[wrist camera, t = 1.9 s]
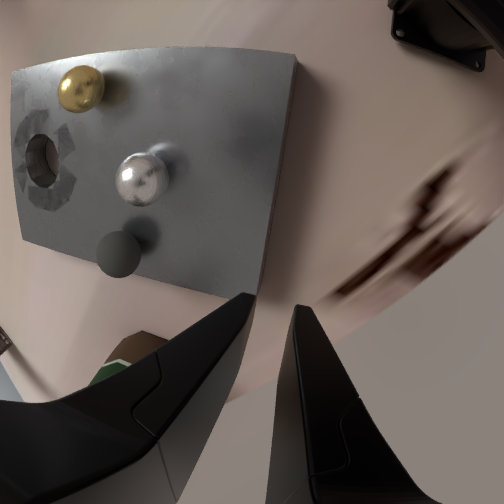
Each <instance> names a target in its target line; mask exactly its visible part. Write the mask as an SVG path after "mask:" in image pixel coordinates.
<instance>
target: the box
mask: <svg viewBox="0 0 504 504" xmlns="http://www.w3.org/2000/svg"><path fill="white" fill-rule="evenodd" d="M11 345H12V342H11V341H10V339H9V338H8V337H7V335H6V334H5V333H4V331H3V330H2V329H1V328H0V355H1V354H3V353H4V352H5V351H6V350H7V349H8V348H9V347H10V346H11Z"/></svg>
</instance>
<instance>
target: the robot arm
mask: <svg viewBox="0 0 504 504" xmlns="http://www.w3.org/2000/svg"><path fill="white" fill-rule="evenodd" d="M388 7H389V8H390V10H393V17H392V26H391V35H392V37H393V38H394V39H395V40H396V41H399V42H402V43H405V44H408V45H411V46H414V47H417V48H420V49H422V50H425V51H428V52H431V53H433V54H436V55H438V56H441V57H443V58H446V59H448V60H450V61H453V62H455V63H457V64H460V65H462V66H464V67H466V68H468V69H471V70H473V71H475V72H482V71H483V70H484V68H485V57H486V50H490V49H496V50H497V52H498V53H499V54H500V55H501V56H502V57H503V59H504V0H388ZM396 31H401V32H402V34H403V36H402V37H400V36H398V35H397V34H396ZM475 62H477V63H478V64H479V67H478V68H477V67H476V65H475ZM256 300H257V297H256V295H254V294H250V293H245V292H241V293H240V294H238V295H237V296H235V297H234V298H232V299H231V300H229V301H228V302H226V303H225V304H223V305H222V306H220V307H219V308H217V309H216V310H214V311H213V312H211V313H210V314H208V315H207V316H205V317H204V318H202V319H201V320H199V321H198V322H196V323H195V324H193V325H192V326H190V327H189V328H187V329H186V330H184V331H183V332H181V333H180V334H178V335H177V336H175V337H174V338H172V339H171V340H169V341H168V342H166V343H165V344H163V345H162V346H160V347H158V348H157V349H156V351H152V352H151V353H149V354H147V355H146V356H144V357H143V358H141V359H139V360H138V361H136V362H134V363H133V364H131V365H129V366H128V367H126V368H124V369H122V370H120V371H118V372H116V373H114V374H112V375H110V376H109V377H107V378H104V379H102V380H100V381H98V382H96V383H94V384H92V385H89V386H87V387H85V388H83V389H81V390H79V391H76V392H74V393H72V394H70V395H68V396H65V397H63V398H60V399H57V400H54V401H50V402H45V403H26V402H15V401H6V400H0V504H176V503H177V502H178V500H179V498H180V496H181V494H182V492H183V490H184V488H185V486H186V484H187V482H188V479H189V478H190V476H191V474H192V471H193V470H194V467H195V465H196V463H197V461H198V459H199V457H200V455H201V453H202V451H203V449H204V447H205V444H206V442H207V439H208V438H209V436H210V434H211V432H212V429H213V427H214V425H215V423H216V421H217V419H218V417H219V414H220V412H221V410H222V408H223V406H224V403H225V401H226V399H227V397H228V395H229V392H230V390H231V388H232V386H233V384H234V381H235V379H236V377H237V374H238V372H239V369H240V365H241V362H242V359H243V355H244V351H245V348H246V344H247V341H248V337H249V334H250V330H251V326H252V322H253V317H254V312H255V306H256ZM265 504H442V503H439V502H437V501H435V500H433V499H431V498H430V497H429V496H427V495H426V494H425V493H424V492H423V491H422V490H421V489H420V488H419V487H418V486H417V485H416V484H415V482H414V481H413V480H412V478H411V477H410V475H409V474H408V472H407V471H406V469H405V468H404V467H403V465H402V464H401V462H400V461H399V459H398V458H397V457H396V455H395V454H394V452H393V451H392V449H391V448H390V446H389V445H388V443H387V442H386V441H385V439H384V437H383V436H382V434H381V433H380V432H379V430H378V428H377V427H376V425H375V423H374V422H373V420H372V418H371V416H370V414H369V413H368V411H367V409H366V407H365V405H364V404H363V402H362V400H361V398H359V394H358V393H357V391H356V389H355V387H354V385H353V383H352V381H351V380H350V378H349V376H348V374H347V372H346V370H345V368H344V366H343V365H342V363H341V361H340V359H339V357H338V355H337V353H336V352H335V350H334V348H333V346H332V344H331V342H330V341H329V339H328V337H327V335H326V333H325V332H324V330H323V328H322V326H321V324H320V323H319V321H318V319H317V317H316V315H315V313H314V312H313V310H312V308H311V307H309V306H304V305H300V304H297V305H295V308H294V311H293V315H292V319H291V322H290V326H289V330H288V334H287V339H286V344H285V349H284V353H283V358H282V363H281V367H280V372H279V377H278V384H277V394H276V406H275V416H274V428H273V438H272V447H271V457H270V467H269V476H268V485H267V494H266V502H265Z"/></svg>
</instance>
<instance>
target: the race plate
mask: <svg viewBox="0 0 504 504" xmlns="http://www.w3.org/2000/svg"><path fill="white" fill-rule="evenodd" d="M297 64H298V60H297V58H296V56H295V54H288V53H280V52H272V51H263V50H253V49H240V48H223V47H159V48H143V49H130V50H120V51H111V52H103V53H96V54H90V55H83V56H78V57H72V58H67V59H62V60H57V61H52V62H48V63H44V64H40V65H35V66H32V67H28V68H24V69H21V70H17V71H14V72H12V86H11V152H12V167H13V178H14V187H15V196H16V203H17V210H18V216H19V222H20V228H21V233H22V238H23V240H25V241H28V242H31V243H34V244H37V245H40V246H43V247H46V248H49V249H52V250H55V251H59V252H62V253H65V254H68V255H71V256H75V257H78V258H81V259H84V260H88V261H91V262H94V263H98V262H97V258H96V251H97V247H98V244H99V242H100V241H101V239H102V238H103V237H104V236H105V235H107V234H108V233H111V232H113V231H124V232H127V233H129V234H131V235H132V236H133V237H134V238H135V239H136V240H137V241H138V243H139V245H140V249H141V260H140V264H139V266H138V267H137V269H136V270H135V271H134V272H133V273H132V274H136V275H139V276H143V277H147V278H150V279H154V280H158V281H161V282H165V283H169V284H173V285H177V286H180V287H184V288H188V289H192V290H196V291H200V292H204V293H208V294H212V295H216V296H220V297H225V298H229V299H232V298H234V297H235V296H237V295H238V294H240V293H241V292H245V293H250V294H254V295H256V297H257V295H258V292H259V289H260V286H261V282H262V276H263V270H264V265H265V259H266V253H267V248H268V242H269V236H270V230H271V224H272V219H273V213H274V207H275V201H276V195H277V189H278V183H279V177H280V171H281V165H282V159H283V153H284V147H285V140H286V134H287V128H288V122H289V115H290V109H291V103H292V96H293V90H294V83H295V77H296V70H297ZM79 65H90V66H93V67H95V68H97V69H98V70H99V71H100V72H101V73H102V75H103V77H104V80H105V92H104V95H103V97H102V99H101V101H100V102H99V103H98V104H97V105H96V106H95V107H94V108H93V109H91V110H89V111H87V112H84V113H71V112H69V111H67V110H65V109H64V108H63V107H62V106H61V105H60V103H59V101H58V98H57V88H58V84H59V82H60V80H61V78H62V77H63V75H64V74H65V73H66V72H67V71H69V70H70V69H72V68H73V67H76V66H79ZM48 137H49V138H50V139H51V140H52V141H53V142H54V145H55V148H56V150H57V153H58V156H59V172H58V175H57V177H56V176H55V175H54V174H53V173H51V172H50V170H49V167H48V165H47V163H46V160H45V145H46V142H47V139H48ZM141 152H143V153H150V154H153V155H155V156H157V157H158V158H160V159H161V160H162V161H163V162H164V164H165V166H166V168H167V170H168V175H169V182H168V187H167V189H166V192H165V193H164V195H163V196H162V197H161V198H160V199H159V200H158V201H157V202H156V203H154V204H152V205H149V206H145V207H137V206H133V205H130V204H128V203H127V202H125V201H124V200H123V199H122V198H121V197H120V195H119V193H118V191H117V188H116V183H115V179H116V173H117V170H118V168H119V166H120V165H121V163H122V162H123V161H124V160H125V159H126V158H127V157H129V156H131V155H133V154H136V153H141Z"/></svg>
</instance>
